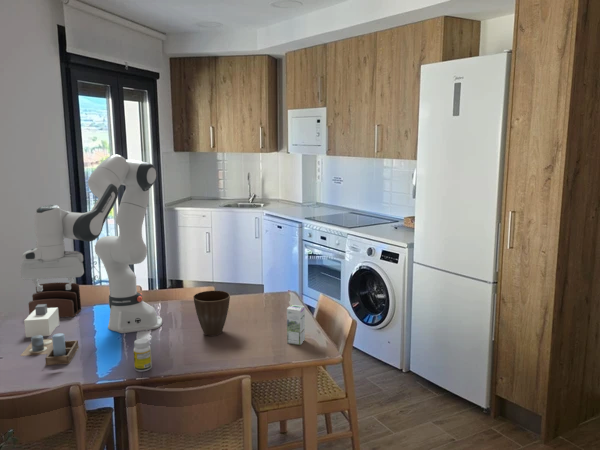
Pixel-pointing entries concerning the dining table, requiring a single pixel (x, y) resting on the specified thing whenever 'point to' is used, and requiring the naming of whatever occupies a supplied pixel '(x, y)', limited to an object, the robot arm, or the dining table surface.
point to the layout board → (38, 346)
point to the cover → (41, 321)
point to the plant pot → (212, 310)
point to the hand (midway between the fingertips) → (54, 290)
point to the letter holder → (58, 298)
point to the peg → (59, 344)
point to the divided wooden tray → (70, 352)
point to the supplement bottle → (142, 355)
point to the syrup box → (295, 324)
